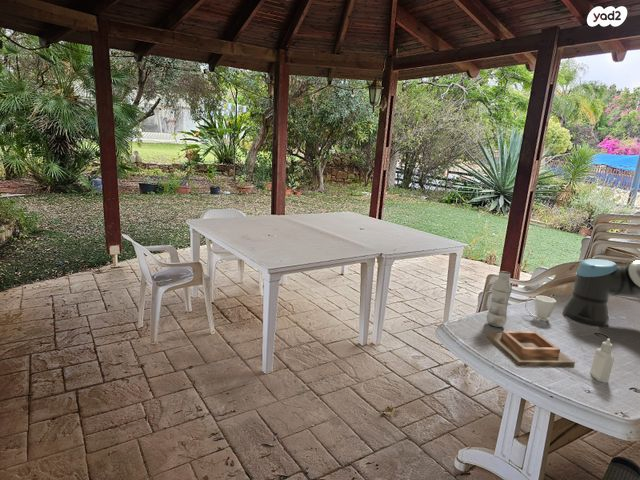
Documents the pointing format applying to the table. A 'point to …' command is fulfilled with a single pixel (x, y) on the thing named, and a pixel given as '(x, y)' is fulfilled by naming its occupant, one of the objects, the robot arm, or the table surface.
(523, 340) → the collar board
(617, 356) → the table surface
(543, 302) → the cup
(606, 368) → the eye dropper bottle
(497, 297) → the plastic bottle
